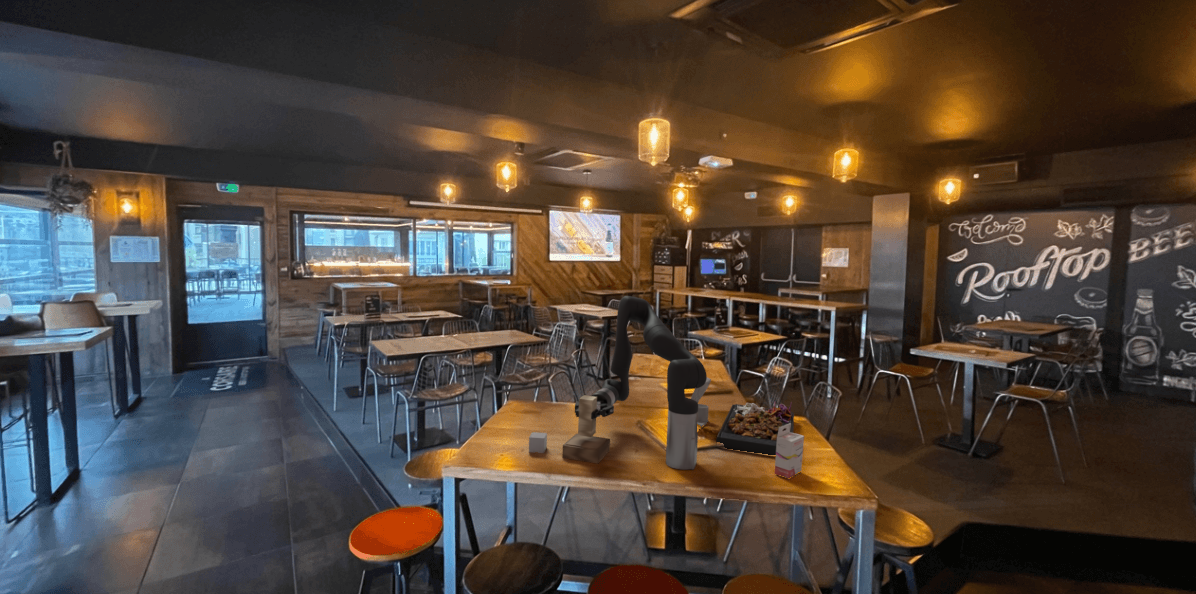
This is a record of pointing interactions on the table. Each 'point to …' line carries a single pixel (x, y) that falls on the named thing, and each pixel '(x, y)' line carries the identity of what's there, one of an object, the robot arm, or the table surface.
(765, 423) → the food platter
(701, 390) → the phone holder
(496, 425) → the table surface
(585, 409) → the oak block
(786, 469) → the ink cartridge box
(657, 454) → the table surface
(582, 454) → the walnut riser
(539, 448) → the stone cube
